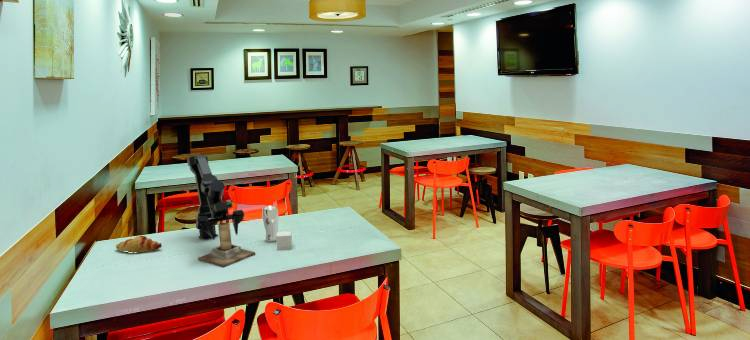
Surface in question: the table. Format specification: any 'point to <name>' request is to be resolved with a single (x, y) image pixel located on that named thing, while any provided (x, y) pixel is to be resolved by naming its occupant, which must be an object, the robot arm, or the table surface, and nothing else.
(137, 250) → the croissant
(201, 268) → the table surface
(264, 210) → the beer glass
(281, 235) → the light grey cube
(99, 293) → the table surface
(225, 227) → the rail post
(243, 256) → the cup bracket
